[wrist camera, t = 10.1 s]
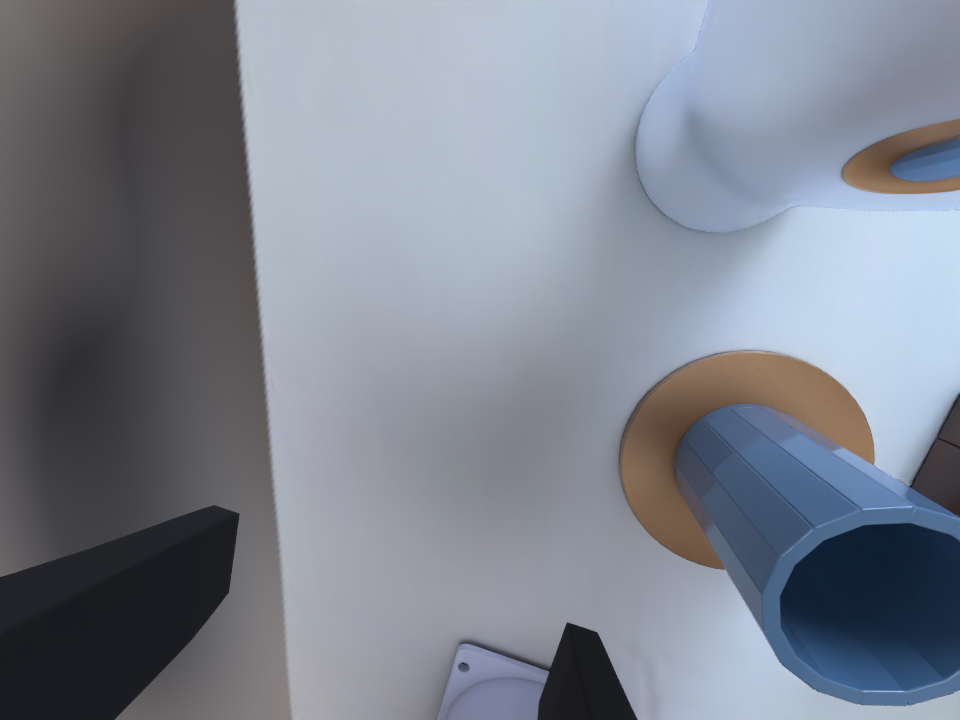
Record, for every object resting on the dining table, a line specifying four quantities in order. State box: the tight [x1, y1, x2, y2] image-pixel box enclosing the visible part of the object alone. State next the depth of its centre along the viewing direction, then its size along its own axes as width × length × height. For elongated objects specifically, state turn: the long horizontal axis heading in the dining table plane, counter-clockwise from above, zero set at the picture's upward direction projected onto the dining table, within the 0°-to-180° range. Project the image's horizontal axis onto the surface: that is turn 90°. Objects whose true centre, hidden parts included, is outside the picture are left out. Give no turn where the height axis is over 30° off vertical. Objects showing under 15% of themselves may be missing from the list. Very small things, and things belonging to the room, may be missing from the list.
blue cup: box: [674, 404, 960, 706], centre depth 13 cm, size 5×5×8 cm
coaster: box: [620, 350, 875, 570], centre depth 17 cm, size 9×9×1 cm
